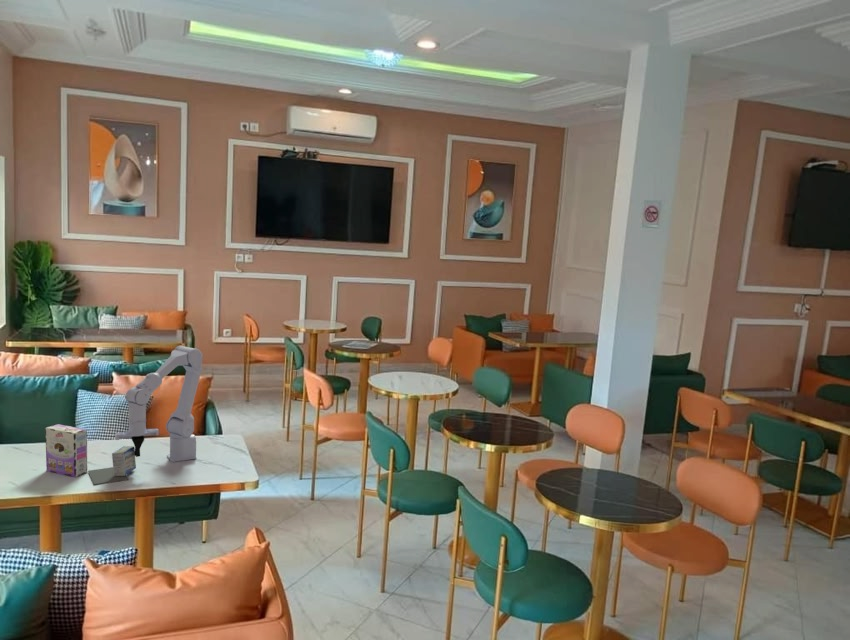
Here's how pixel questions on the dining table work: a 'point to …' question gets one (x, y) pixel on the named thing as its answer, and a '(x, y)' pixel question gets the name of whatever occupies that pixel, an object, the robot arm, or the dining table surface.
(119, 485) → the dining table surface
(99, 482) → the mat
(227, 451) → the dining table surface
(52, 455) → the candy box
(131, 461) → the medicine box
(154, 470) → the dining table surface
